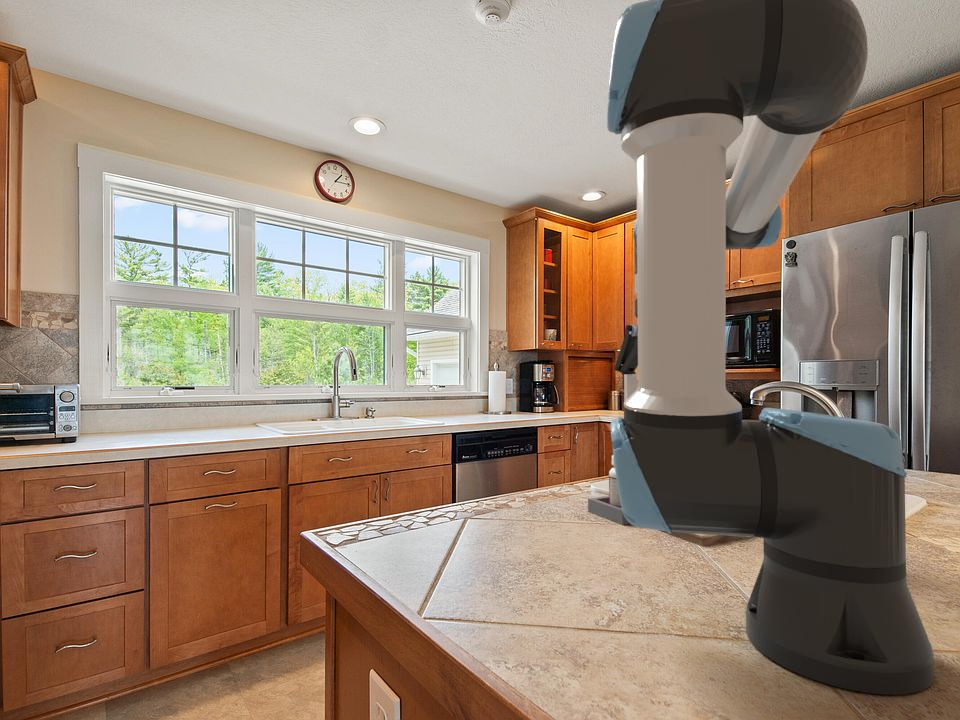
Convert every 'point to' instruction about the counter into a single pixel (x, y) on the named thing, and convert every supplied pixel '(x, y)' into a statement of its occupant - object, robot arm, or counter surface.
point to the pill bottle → (613, 487)
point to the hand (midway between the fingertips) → (656, 408)
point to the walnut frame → (703, 538)
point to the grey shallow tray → (606, 509)
